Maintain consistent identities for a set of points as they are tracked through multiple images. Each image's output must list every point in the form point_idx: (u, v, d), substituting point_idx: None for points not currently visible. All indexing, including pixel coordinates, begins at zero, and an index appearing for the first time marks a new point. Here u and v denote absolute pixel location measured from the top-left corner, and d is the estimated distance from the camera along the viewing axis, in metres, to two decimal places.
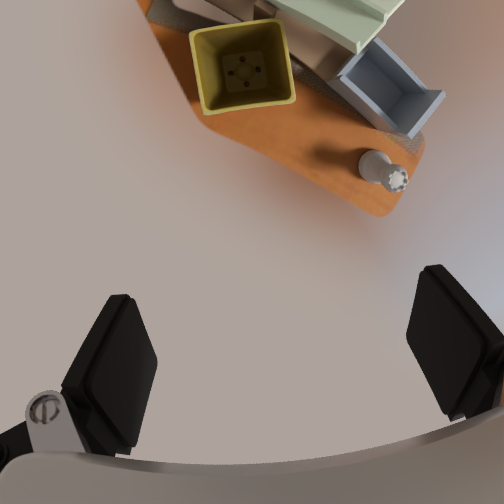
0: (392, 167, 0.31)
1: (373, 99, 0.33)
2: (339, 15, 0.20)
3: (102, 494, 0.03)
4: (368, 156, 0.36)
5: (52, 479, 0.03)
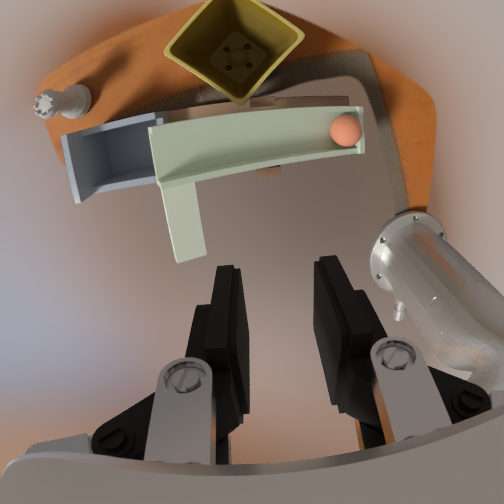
0: (56, 106, 0.25)
1: (125, 140, 0.33)
2: (195, 147, 0.23)
3: (102, 494, 0.03)
4: (85, 99, 0.29)
5: (52, 479, 0.03)
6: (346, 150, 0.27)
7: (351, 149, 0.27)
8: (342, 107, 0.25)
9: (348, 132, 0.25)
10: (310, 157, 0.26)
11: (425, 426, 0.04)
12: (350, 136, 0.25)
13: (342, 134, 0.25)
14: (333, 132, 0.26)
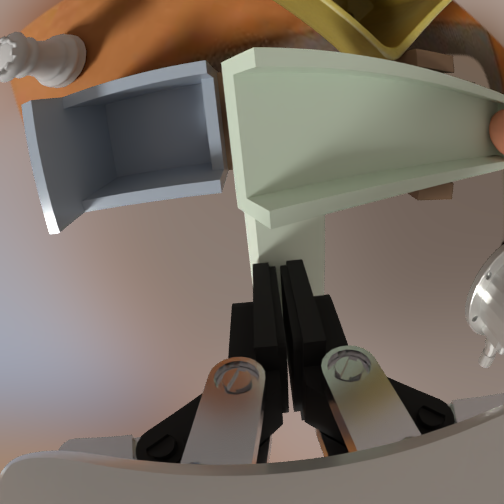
0: (22, 57, 0.11)
1: (140, 120, 0.19)
2: (333, 125, 0.09)
3: (102, 494, 0.03)
4: (75, 54, 0.16)
5: (52, 479, 0.03)
6: None
7: None
8: None
9: None
10: (484, 170, 0.12)
11: (390, 437, 0.04)
12: None
13: None
14: (501, 133, 0.12)
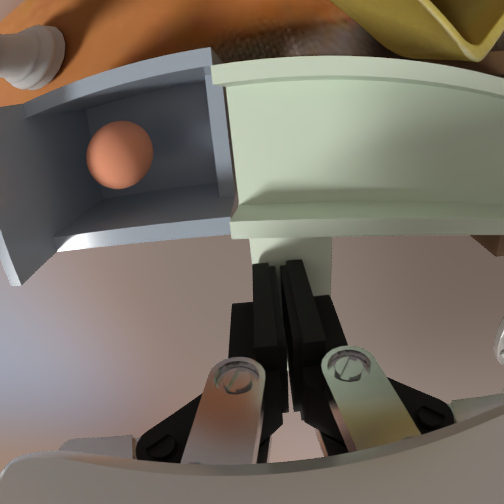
0: None
1: None
2: (347, 140, 0.08)
3: (102, 494, 0.03)
4: (51, 48, 0.12)
5: (52, 479, 0.03)
6: None
7: None
8: None
9: None
10: None
11: (390, 437, 0.04)
12: None
13: None
14: None
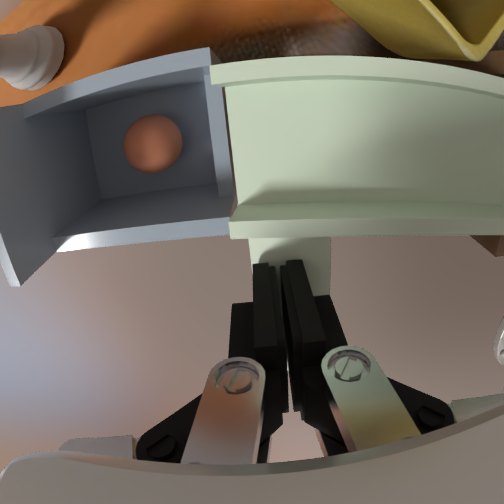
0: None
1: (127, 129, 0.15)
2: (346, 140, 0.08)
3: (102, 494, 0.03)
4: (50, 48, 0.12)
5: (52, 478, 0.03)
6: None
7: None
8: None
9: None
10: None
11: (390, 438, 0.04)
12: None
13: None
14: None
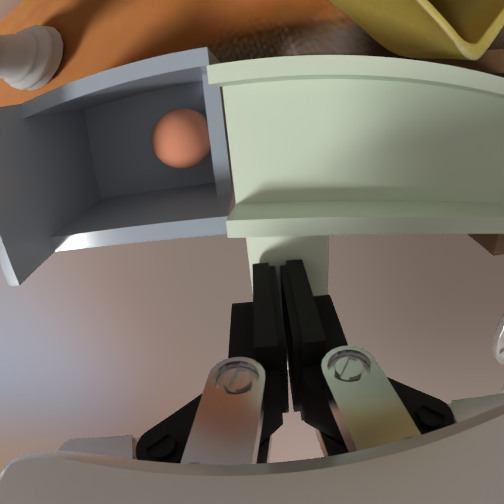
0: None
1: (126, 129, 0.15)
2: (343, 139, 0.08)
3: (102, 494, 0.03)
4: (49, 48, 0.12)
5: (52, 479, 0.03)
6: None
7: None
8: None
9: None
10: None
11: (389, 438, 0.04)
12: None
13: None
14: None
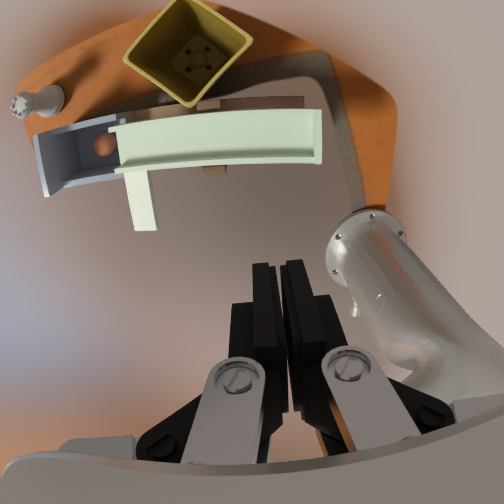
0: (30, 107, 0.25)
1: (93, 138, 0.34)
2: (147, 143, 0.27)
3: (102, 494, 0.03)
4: (58, 99, 0.30)
5: (52, 479, 0.03)
6: (296, 158, 0.25)
7: (305, 158, 0.25)
8: (292, 110, 0.23)
9: None
10: (246, 161, 0.26)
11: (390, 437, 0.04)
12: None
13: None
14: None
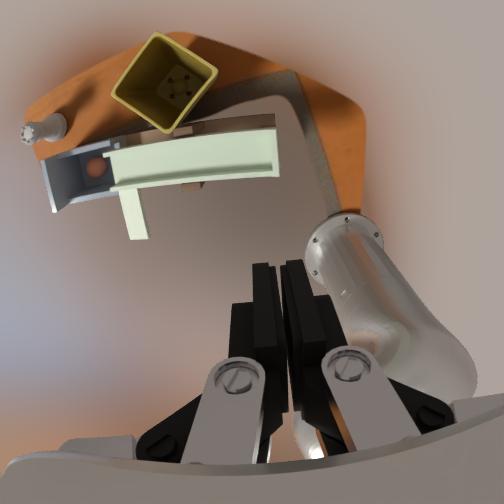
0: (37, 135, 0.31)
1: None
2: (136, 165, 0.32)
3: (102, 494, 0.03)
4: (61, 126, 0.36)
5: (52, 479, 0.03)
6: (258, 173, 0.30)
7: (265, 172, 0.30)
8: (251, 131, 0.28)
9: None
10: (216, 178, 0.31)
11: (390, 437, 0.04)
12: None
13: (106, 165, 0.39)
14: (105, 165, 0.38)
